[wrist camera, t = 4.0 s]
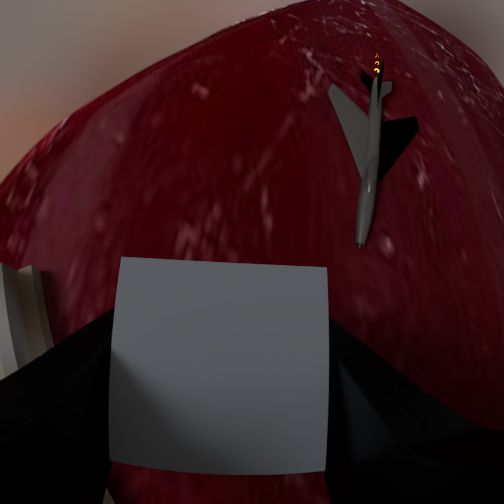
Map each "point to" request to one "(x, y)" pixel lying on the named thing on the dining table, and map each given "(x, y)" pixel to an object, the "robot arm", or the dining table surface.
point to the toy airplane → (371, 142)
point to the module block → (219, 367)
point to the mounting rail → (24, 322)
